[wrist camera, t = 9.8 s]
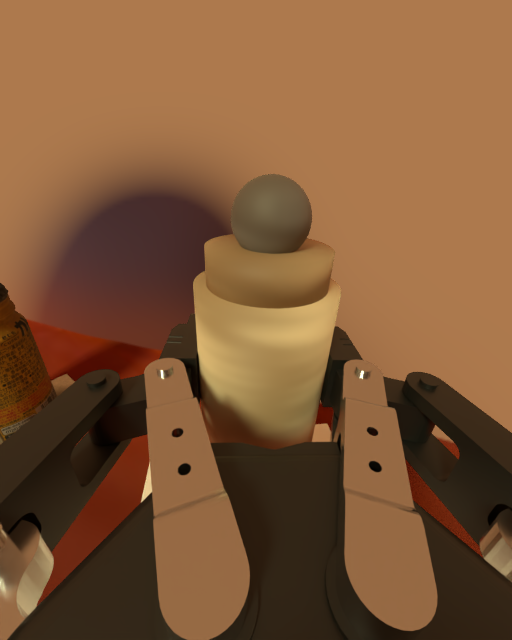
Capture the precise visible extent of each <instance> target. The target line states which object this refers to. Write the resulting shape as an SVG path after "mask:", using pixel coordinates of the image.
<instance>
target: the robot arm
mask: <svg viewBox="0 0 512 640" xmlns="http://www.w3.org/2000/svg"><path fill="white" fill-rule="evenodd" d="M200 398H201V395H200V380H199V364H198V349H197V334H196V318H195V314H191V315H190V317H189V320H188V323H187V324H178V325H177V326H176V327H174V328H173V329H172V330H171V333H170V335H169V338H168V340H167V343H166V344H165V346H164V349H163V351H162V353H161V356H160V358H159V360H156V361H154V362H152V363H150V364H149V365H148V366H147V367H146V369H145V371H144V374H142V375H139V376H135V377H131V378H126V379H121V380H120V376H119V374H118V373H117V372H116V371H113V370H109V369H102V370H96V371H92V372H90V373H87V374H85V375H83V376H82V377H80V378H79V379H78V380H77V381H75V382H74V383H73V384H72V385H71V386H69V387H68V388H67V389H66V390H65V391H63V392H62V393H61V394H60V395H59V396H58V397H56V398H55V399H54V400H53V401H52V402H50V403H49V404H48V405H47V406H46V407H44V408H43V409H42V410H41V411H40V412H38V413H37V414H36V415H35V416H34V417H33V418H31V419H30V420H29V421H28V422H27V423H25V424H24V425H23V426H22V427H21V428H19V429H18V430H17V431H16V432H15V433H14V434H12V435H11V436H10V437H9V438H8V439H6V440H5V441H4V442H3V443H2V444H0V640H512V433H511V432H510V431H508V430H507V429H505V428H504V427H503V426H502V425H500V424H499V423H498V422H496V421H495V420H494V419H492V418H491V417H490V416H488V415H487V414H486V413H484V412H483V411H482V410H481V409H479V408H478V407H476V406H475V405H474V404H473V403H471V402H470V401H469V400H467V399H466V398H465V397H463V396H462V395H461V394H459V393H458V392H457V391H455V390H454V389H453V388H451V387H450V386H449V385H448V384H446V383H445V382H444V381H442V380H441V379H439V378H437V377H435V376H433V375H431V374H427V373H423V372H412V373H409V374H408V375H407V377H406V380H405V382H404V381H399V380H395V379H391V378H387V377H383V374H382V372H381V370H380V369H379V368H378V367H377V366H375V365H374V364H372V363H370V362H367V361H364V360H362V358H361V356H360V354H359V353H358V351H357V350H356V348H355V346H354V345H353V343H352V342H351V340H350V339H349V337H348V335H347V334H346V332H344V331H343V330H342V329H340V328H339V327H334V332H333V337H332V342H331V347H330V352H329V357H328V362H327V367H326V372H325V377H324V383H323V388H322V393H321V398H320V400H321V403H322V405H323V407H333V410H334V411H333V416H332V422H331V434H330V442H304V443H300V444H296V445H292V446H288V447H284V448H280V449H268V448H263V447H259V446H254V445H250V444H245V443H210V440H209V437H208V434H207V430H206V427H205V424H204V420H203V417H202V414H201V410H200V407H199V404H200ZM435 425H437V426H438V427H439V428H440V429H441V430H442V431H443V432H444V433H445V434H446V435H447V436H448V437H449V438H450V439H452V440H453V441H454V443H455V444H456V445H457V447H458V449H459V452H460V457H459V460H458V459H457V458H456V457H455V456H454V455H453V454H452V453H451V452H450V451H449V450H448V449H447V448H446V447H445V446H444V445H443V444H442V443H441V442H440V441H439V440H438V439H437V438H436V437H435V436H434V435H433V434H432V431H433V428H434V426H435ZM87 432H88V433H87ZM86 433H87V434H86ZM85 434H86V435H85ZM146 434H148V445H149V458H150V471H151V484H152V492H151V493H150V494H149V495H148V496H147V497H146V498H145V499H144V500H143V501H142V502H141V503H140V504H139V505H138V506H137V507H136V508H135V509H134V510H133V511H132V512H131V513H130V514H129V515H128V516H127V517H126V518H125V519H124V520H123V521H122V522H121V523H120V524H119V525H118V526H117V527H116V528H115V529H114V530H113V531H112V532H111V533H110V534H109V535H108V536H107V537H106V538H105V539H104V540H103V541H102V542H101V543H100V544H99V545H98V546H97V547H96V548H95V549H94V550H93V551H92V552H91V553H90V554H89V555H88V556H87V557H86V558H85V559H84V560H83V561H82V562H81V563H80V564H79V565H78V566H77V567H76V568H75V569H74V570H73V571H72V572H71V573H70V574H69V575H68V576H67V577H66V578H65V579H64V580H63V581H62V582H61V583H60V584H59V585H58V586H57V587H56V588H55V589H54V590H53V591H52V592H51V593H50V594H49V595H48V596H47V597H46V598H45V599H44V600H43V601H42V602H41V603H40V604H39V605H38V606H37V607H36V605H37V602H38V600H39V599H40V597H41V595H42V592H43V589H44V587H45V585H46V583H47V582H48V580H49V577H50V575H51V572H52V569H53V562H54V561H53V554H52V551H53V549H54V548H55V546H56V545H57V544H58V542H59V541H60V539H61V538H62V537H63V535H64V534H65V532H66V531H67V530H68V528H69V527H70V525H71V524H72V523H73V521H74V520H75V519H76V517H77V516H78V514H79V513H80V512H81V510H82V509H83V507H84V506H85V505H86V503H87V502H88V500H89V499H90V498H91V496H92V495H93V493H94V492H95V491H96V489H97V488H98V486H99V485H100V484H101V482H102V481H103V480H104V478H105V477H106V475H107V474H108V473H109V471H110V470H111V468H112V467H113V466H114V464H115V463H116V461H117V460H118V459H119V457H120V456H121V454H122V453H123V452H124V450H125V449H126V447H127V446H128V445H129V443H130V442H131V440H132V438H135V437H139V436H142V435H146ZM84 435H85V436H84ZM83 436H84V437H83ZM82 437H83V438H82ZM81 438H82V440H81V441H80V439H81ZM79 441H80V442H79ZM78 442H79V443H78ZM77 443H78V444H77ZM76 444H77V445H76ZM75 445H76V446H75ZM405 459H406V460H407V461H408V462H409V464H410V465H411V466H412V467H413V468H414V470H415V471H416V472H417V473H418V474H419V475H420V477H421V478H422V479H423V480H424V481H425V483H426V484H427V485H428V486H429V487H430V488H431V490H432V491H433V492H434V493H435V494H436V496H437V497H438V498H439V499H440V500H441V501H442V503H443V504H444V505H445V506H446V507H447V509H448V510H449V511H450V512H451V513H452V515H453V516H454V517H455V518H456V519H457V520H458V522H459V523H460V524H461V525H462V526H463V528H464V529H465V530H466V531H467V532H468V533H469V535H470V536H471V537H472V538H473V539H474V541H475V542H476V543H477V544H478V545H479V546H480V550H481V553H482V556H483V558H484V559H483V558H482V557H481V556H480V555H479V554H477V553H476V552H475V551H474V550H472V549H471V548H470V547H469V546H468V545H466V544H465V543H464V542H463V541H462V540H460V539H459V538H458V537H457V536H456V535H454V534H453V533H452V532H451V531H449V530H448V529H447V528H446V527H445V526H443V525H442V524H441V523H440V522H439V521H437V520H436V519H435V518H434V517H432V516H431V515H430V514H429V513H428V512H426V511H425V510H424V509H423V508H422V507H420V506H419V505H418V504H417V503H415V502H414V501H413V500H412V494H411V489H410V484H409V478H408V473H407V467H406V462H405Z"/></svg>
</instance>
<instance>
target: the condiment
mask: <svg viewBox="0 0 512 640" xmlns="http://www.w3.org/2000/svg"><path fill="white" fill-rule="evenodd" d="M74 382H75V381H73V380H72V379H71V378H70V377H69V376H68V375H67V374H65V375H63V376H61V377H58V378H56V379H54V380H52V381H51V379H50V377H49V375H48V372H47V370H46V367H45V365H44V362H43V359H42V357H41V355H40V352H39V350H38V347H37V345H36V342H35V340H34V337H33V335H32V332H31V330H30V327H29V325H28V322H27V320H26V319H25V317H24V316H22V315H21V314H20V313H18V312H16V311H15V305H14V303H13V302H12V301H11V300H10V298H9V296H8V290H7V289H6V288H5V286H4V285H2V284H1V283H0V444H2V443H3V442H4V441H5V440H6V439H8V438H9V437H10V436H11V435H12V434H14V433H15V432H16V431H17V430H18V429H19V428H21V427H22V426H23V425H24V424H25V423H27V422H28V421H29V420H30V419H31V418H33V417H34V416H35V415H36V414H37V413H38V412H40V411H41V410H42V409H43V408H44V407H46V406H47V405H48V404H49V403H50V402H52V401H53V400H54V399H55V398H56V397H58V396H59V395H60V394H61V393H62V392H63V391H65V390H66V389H67V388H68V387H69V386H71V385H72V384H73V383H74Z"/></svg>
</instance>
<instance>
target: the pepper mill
mask: <svg viewBox="0 0 512 640" xmlns="http://www.w3.org/2000/svg"><path fill="white" fill-rule="evenodd" d="M311 222H312V211H311V205H310V202H309V199H308V197H307V195H306V194H305V192H304V190H303V189H302V188H301V187H300V186H299V185H298V184H297V183H296V182H294V181H293V180H291V179H290V178H287V177H285V176H282V175H276V174H268V175H262V176H259V177H257V178H255V179H253V180H251V181H250V182H248V183H247V184H246V185H245V186H244V187H243V188H242V189H241V190H240V191H239V193H238V194H237V196H236V198H235V200H234V203H233V206H232V211H231V225H232V230H233V233H234V234H232V235H225V236H220V237H216V238H213V239H211V240H209V241H208V242H206V243H205V246H204V247H205V269H206V270H205V271H204V272H202V273H200V274H199V275H198V276H197V277H196V278H195V280H194V283H193V288H194V303H195V318H196V334H197V349H198V364H199V380H200V395H201V410H202V417H203V420H204V424H205V427H206V430H207V434H208V437H209V440H210V443H245V444H250V445H254V446H259V447H263V448H268V449H280V448H284V447H288V446H292V445H296V444H300V443H304V442H312V438H313V433H314V428H315V423H316V418H317V413H318V408H319V403H320V398H321V393H322V388H323V383H324V377H325V372H326V367H327V362H328V357H329V352H330V347H331V342H332V337H333V332H334V327H335V322H336V316H337V311H338V307H339V301H340V296H341V289H340V287H339V285H338V284H337V283H336V282H335V281H334V280H332V279H331V272H332V266H333V261H334V255H335V251H334V250H333V249H332V248H331V247H330V246H328V245H326V244H324V243H322V242H319V241H315V240H312V239H308V238H307V236H308V234H309V231H310V228H311Z"/></svg>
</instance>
